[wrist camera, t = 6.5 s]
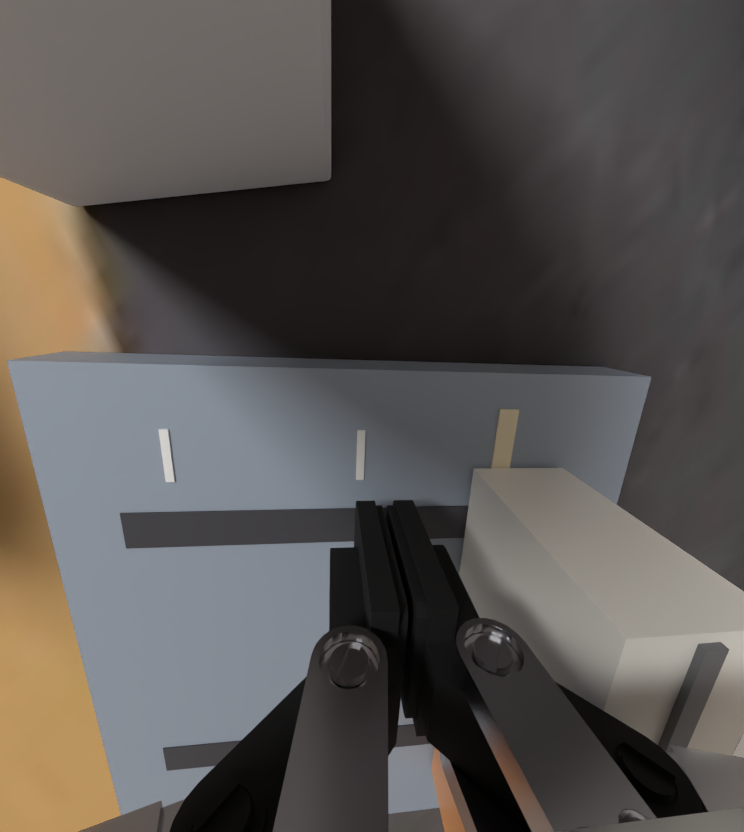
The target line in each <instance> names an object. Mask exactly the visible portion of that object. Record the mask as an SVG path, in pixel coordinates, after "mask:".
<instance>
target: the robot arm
mask: <svg viewBox="0 0 744 832" xmlns="http://www.w3.org/2000/svg"><path fill="white" fill-rule="evenodd" d="M400 700H401V702H402V708H403V713H404V716H405V718H406V719H407V718H413V722H414V727H415V732H416V737H417V736H426V738H427V741H428V742H429V743H430V744H431V745H433V746H434V747H435V748H436V749H437V750H438V751H439V752H440V760H441V764H442V768H443V771H444V774H445V777H446V780H447V782H448V785H449V788H450V791H451V793H452V796H453V799H454V802H455V804H456V807H457V810H458V813H459V815H460V818H461V821H462V824H463V826H464V829H465V832H744V758H742V757H736V756H730V755H724V754H719V753H713V752H707V751H702V750H696V749H690V748H684V747H679V746H673V745H670V746H669V749H668V751H664V750H663V749H662V748H661V747H660V746H658V745H657V744H656V743H654V742H653V741H651V740H650V739H649V738H647V737H646V736H644V735H643V734H641V733H639V732H638V731H636V730H634V729H633V728H631V727H629V726H628V725H626V724H625V723H623V722H621V721H620V720H618V719H616V718H615V717H613V716H611V715H610V714H608V713H606V712H605V711H603V710H601V709H600V708H598V707H596V706H595V705H593V704H591V703H590V702H588V701H587V700H585V699H583V698H582V697H580V696H578V695H577V694H575V693H573V692H572V691H570V690H568V689H567V688H565V687H563V686H562V685H560V684H558V683H557V682H555V681H554V680H553V678H552V677H551V676H550V674H549V673H548V672H547V670H546V669H545V668H544V666H543V665H542V664H541V662H540V661H539V660H538V658H537V657H536V656H535V654H534V653H533V652H532V650H531V649H530V648H529V646H528V645H527V644H526V642H525V641H524V640H523V639H522V638H521V637H520V636H519V635H518V634H517V633H516V632H515V631H514V630H512V629H511V628H510V627H508V626H507V625H505V624H503V623H501V622H498V621H496V620H492V619H487V618H479V616H478V614H477V612H476V610H475V608H474V605H473V603H472V601H471V599H470V597H469V595H468V593H467V591H466V589H465V587H464V585H463V583H462V581H461V578H460V576H459V574H458V572H457V570H456V568H455V566H454V564H453V562H452V560H451V558H450V556H449V553H448V551H447V549H446V548H445V546H444V545H432V543H431V541H430V539H429V536H428V534H427V532H426V529H425V527H424V525H423V522H422V520H421V518H420V515H419V513H418V511H417V508H416V506H415V504H414V502H413V500H394V501H393V505H387V508H386V518H385V515H384V511H383V507H382V505H376V503H375V501H356V507H355V533H354V547H347V548H330V589H329V632H327V633H326V634H324V635H323V636H322V637H321V638H320V639H319V641H318V642H317V643H316V644H315V647H314V649H313V652H312V654H311V658H310V663H309V668H308V672H307V676H306V677H305V678H304V679H303V680H302V681H301V682H300V683H299V684H298V685H297V686H296V687H295V688H294V689H293V690H292V691H291V692H290V693H289V694H288V695H287V696H286V697H285V698H284V699H283V700H282V701H281V702H280V703H279V704H278V705H277V706H276V707H275V708H274V709H273V710H272V711H271V712H270V713H269V714H268V715H267V716H266V717H265V718H264V719H263V720H262V721H261V722H260V723H259V724H258V725H257V726H256V727H255V728H254V729H253V730H252V731H251V732H249V733H248V734H247V735H246V736H245V737H244V738H243V739H242V740H241V741H240V742H239V743H238V744H237V745H236V746H235V747H234V748H233V749H232V750H231V751H230V752H229V753H228V754H227V755H226V756H225V757H224V758H223V759H222V760H221V761H220V762H219V763H218V764H217V765H216V766H215V767H214V768H213V769H212V770H211V771H210V772H209V773H208V774H207V775H206V776H205V777H204V778H203V779H202V780H201V781H200V782H199V783H198V784H197V785H196V786H195V788H194V789H193V790H192V791H191V792H190V794H189V795H188V796H187V797H186V798H185V799H184V800H181V801H178V802H176V803H173V804H170V805H168V806H165V807H163V806H162V800H161V801H158V802H156V803H153V804H150V805H148V806H145V807H142V808H140V809H137V810H134V811H132V812H129V813H126V814H124V815H121V816H118V817H116V818H113V819H111V820H108V821H105V822H103V823H100V824H97V825H95V826H92V827H89V828H87V829H84V830H81V831H79V832H388V756H389V754H390V753H391V751H392V750H393V748H394V747H395V745H396V741H397V731H398V721H399V710H400Z"/></svg>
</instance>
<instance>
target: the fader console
mask: <svg viewBox="0 0 744 832" xmlns="http://www.w3.org/2000/svg"><path fill="white" fill-rule="evenodd" d="M7 363H8V367H9V371H10V375H11V379H12V383H13V387H14V391H15V395H16V399H17V403H18V407H19V411H20V415H21V419H22V423H23V427H24V431H25V435H26V439H27V443H28V447H29V451H30V455H31V459H32V462H33V466H34V470H35V474H36V478H37V482H38V486H39V490H40V494H41V498H42V502H43V506H44V510H45V514H46V518H47V522H48V526H49V530H50V534H51V538H52V542H53V546H54V550H55V554H56V558H57V562H58V566H59V570H60V574H61V578H62V582H63V586H64V590H65V594H66V598H67V602H68V606H69V610H70V614H71V618H72V622H73V626H74V630H75V634H76V638H77V641H78V645H79V649H80V653H81V657H82V661H83V665H84V669H85V673H86V677H87V681H88V685H89V689H90V693H91V697H92V701H93V705H94V709H95V713H96V717H97V721H98V725H99V729H100V733H101V737H102V741H103V745H104V749H105V753H106V757H107V761H108V765H109V769H110V773H111V777H112V781H113V785H114V789H115V793H116V797H117V801H118V805H119V809H120V813H121V815H124V814H126V813H129V812H132V811H134V810H137V809H140V808H142V807H145V806H148V805H150V804H153V803H156V802H158V801H161V800H162V806H163V807H165V806H168V805H170V804H173V803H176V802H178V801H181V800H184V799H185V798H186V797H187V796H188V795H189V794H190V792H191V791H192V790H193V789H194V788H195V786H196V785H197V784H198V783H199V782H200V781H201V780H202V779H203V778H204V777H205V776H206V775H207V774H208V773H209V772H210V771H211V770H212V769H213V768H214V767H215V766H216V765H217V764H218V763H219V762H220V761H221V760H222V759H223V758H224V757H225V756H226V755H227V754H228V753H229V752H230V751H231V750H232V749H233V748H234V747H235V746H236V745H237V744H238V743H239V742H240V741H241V740H242V739H243V738H244V737H245V736H246V735H247V734H248V733H249V732H251V731H252V730H253V729H254V728H255V727H256V726H257V725H258V724H259V723H260V722H261V721H262V720H263V719H264V718H265V717H266V716H267V715H268V714H269V713H270V712H271V711H272V710H273V709H274V708H275V707H276V706H277V705H278V704H279V703H280V702H281V701H282V700H283V699H284V698H285V697H286V696H287V695H288V694H289V693H290V692H291V691H292V690H293V689H294V688H295V687H296V686H297V685H298V684H299V683H300V682H301V681H302V680H303V679H304V678H305V677H306V676H307V672H308V668H309V663H310V658H311V654H312V652H313V649H314V647H315V644H316V643H317V642H318V641H319V639H320V638H321V637H322V636H323V635H324V634H326V633H327V632H329V589H330V548H347V547H354V533H355V507H356V501H375V503H376V505H382V507H383V511H384V515H385V518H386V508H387V505H393V501H394V500H413V502H414V504H415V506H416V508H417V511H418V513H419V515H420V518H421V520H422V522H423V525H424V527H425V529H426V532H427V534H428V536H429V539H430V541H431V543H432V545H444V546H445V548H446V549H447V551H448V553H449V556H450V558H451V560H452V562H453V564H454V566H455V568H456V570H457V572H458V574H459V572H460V564H461V557H462V550H463V542H464V535H465V528H466V521H467V513H468V506H469V499H470V491H471V484H472V477H473V469H474V468H564V469H565V470H567V471H568V472H569V473H571V474H572V475H574V476H575V477H577V478H578V479H580V480H581V481H583V482H584V483H586V484H587V485H588V486H590V487H591V488H593V489H594V490H596V491H597V492H599V493H600V494H602V495H603V496H605V497H606V498H607V499H609V500H610V501H612V502H613V503H615V504H616V505H617V502H618V498H619V494H620V491H621V487H622V483H623V480H624V476H625V472H626V469H627V465H628V461H629V458H630V454H631V450H632V447H633V443H634V439H635V436H636V432H637V428H638V425H639V421H640V417H641V414H642V410H643V406H644V403H645V399H646V395H647V392H648V388H649V384H650V381H651V377H650V376H645V375H640V374H635V373H631V372H626V371H621V370H616V369H611V368H607V367H588V366H553V365H519V364H484V363H449V362H414V361H379V360H344V359H309V358H274V357H239V356H204V355H170V354H135V353H100V352H65V351H64V352H58V353H51V354H45V355H39V356H32V357H26V358H20V359H13V360H7ZM459 576H460V575H459ZM460 578H461V577H460ZM461 581H462V579H461ZM462 583H463V581H462ZM463 585H464V583H463ZM464 587H465V586H464ZM465 589H466V588H465ZM466 591H467V590H466ZM467 593H468V592H467ZM468 595H469V594H468ZM469 597H470V596H469ZM470 599H471V598H470ZM471 601H472V600H471ZM472 603H473V602H472ZM473 605H474V604H473ZM474 608H475V606H474ZM475 610H476V608H475ZM476 612H477V610H476ZM477 614H478V612H477ZM478 616H479V615H478ZM479 618H480V617H479ZM433 752H434V746H433V745H431V744H430V743H429V742H428V741H427V738H426V736H417V737H416V732H415V727H414V722H413V718H407V719H406V718H405V716H404V713H403V708H402V702H401V700H400V710H399V721H398V731H397V741H396V745H395V747H394V748H393V750H392V751H391V753H390V754H389V756H388V814H391V813H399V812H407V811H415V810H423V809H431V808H439V803H438V798H437V794H436V789H435V784H434V780H433V775H432V771H431V767H432V759H433Z"/></svg>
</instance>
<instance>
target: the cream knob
mask: <svg viewBox="0 0 744 832" xmlns="http://www.w3.org/2000/svg"><path fill="white" fill-rule="evenodd" d="M459 575H460V577H461V579H462V581H463V583H464V586H465V588H466V590H467V592H468V594H469V596H470V598H471V600H472V602H473V604H474V606H475V608H476V610H477V612H478V615H479V617H480V618H487V619H492V620H496V621H498V622H501V623H503V624H505V625H507V626H508V627H510V628H511V629H512V630H514V631H515V632H516V633H517V634H518V635H519V636H520V637H521V638H522V639H523V640H524V641H525V642H526V644H527V645H528V646H529V648H530V649H531V650H532V652H533V653H534V654H535V656H536V657H537V658H538V660H539V661H540V662H541V664H542V665H543V666H544V668H545V669H546V670H547V672H548V673H549V674H550V676H551V677H552V678H553V680H554V681H555V682H557V683H558V684H560V685H562V686H563V687H565V688H567V689H568V690H570V691H572V692H573V693H575V694H577V695H578V696H580V697H582V698H583V699H585V700H587V701H588V702H590V703H591V704H593V705H595V706H596V707H598V708H600V709H601V710H603V711H605V712H606V713H608V714H610V715H611V716H613V717H615V718H616V719H618V720H620V721H621V722H623V723H625V724H626V725H628V726H629V727H631V728H633V729H634V730H636V731H638V732H639V733H641V734H643V735H644V736H646V737H647V738H649V739H650V740H651V741H653V742H654V743H656V744H657V745H658V746H660V747H661V748H662V749H663V750H664V751H668V749H669V746H670V745H673V746H679V747H684V748H690V749H696V750H702V751H707V752H713V753H719V754H724V755H730V756H732V755H733V753H734V751H735V749H736V747H737V745H738V743H739V741H740V739H741V737H742V734H743V733H744V592H743V591H742V590H741V589H739V588H738V587H736V586H735V585H733V584H732V583H730V582H729V581H727V580H726V579H724V578H723V577H722V576H720V575H719V574H717V573H716V572H714V571H713V570H711V569H710V568H708V567H707V566H705V565H704V564H703V563H701V562H700V561H698V560H697V559H695V558H694V557H692V556H691V555H689V554H688V553H686V552H685V551H684V550H682V549H681V548H679V547H678V546H676V545H675V544H673V543H672V542H670V541H669V540H667V539H666V538H665V537H663V536H662V535H660V534H659V533H657V532H656V531H654V530H653V529H651V528H650V527H648V526H647V525H646V524H644V523H643V522H641V521H640V520H638V519H637V518H635V517H634V516H632V515H631V514H629V513H628V512H627V511H625V510H624V509H622V508H621V507H619V506H618V505H616V504H615V503H613V502H612V501H610V500H609V499H607V498H606V497H605V496H603V495H602V494H600V493H599V492H597V491H596V490H594V489H593V488H591V487H590V486H588V485H587V484H586V483H584V482H583V481H581V480H580V479H578V478H577V477H575V476H574V475H572V474H571V473H569V472H568V471H567V470H565V469H564V468H474V469H473V477H472V484H471V491H470V499H469V506H468V513H467V521H466V528H465V535H464V542H463V550H462V557H461V564H460V572H459Z"/></svg>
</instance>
